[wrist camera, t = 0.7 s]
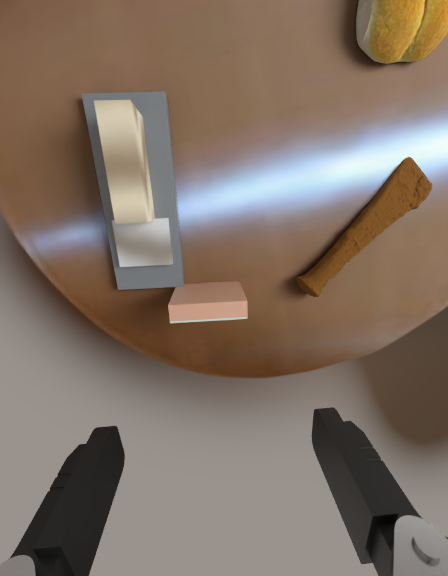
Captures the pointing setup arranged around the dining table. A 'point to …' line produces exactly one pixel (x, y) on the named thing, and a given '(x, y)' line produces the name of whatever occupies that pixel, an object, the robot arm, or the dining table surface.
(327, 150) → the dining table surface
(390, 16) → the bread roll
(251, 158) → the dining table surface
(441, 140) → the dining table surface
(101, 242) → the dining table surface
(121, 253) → the beige stepped block
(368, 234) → the primitive tool
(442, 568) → the robot arm
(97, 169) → the plate
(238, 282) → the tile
